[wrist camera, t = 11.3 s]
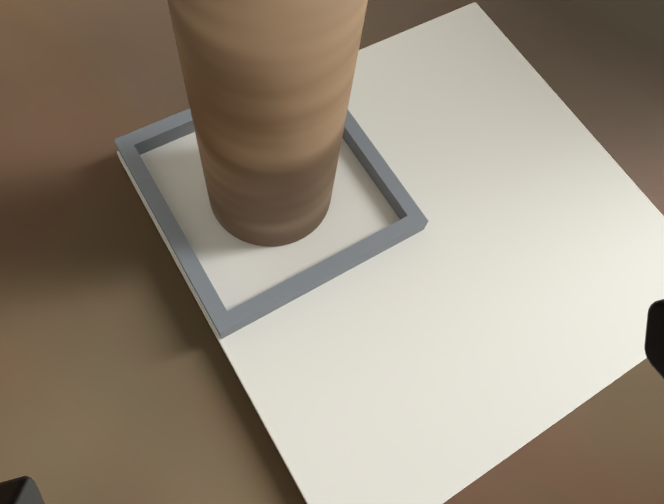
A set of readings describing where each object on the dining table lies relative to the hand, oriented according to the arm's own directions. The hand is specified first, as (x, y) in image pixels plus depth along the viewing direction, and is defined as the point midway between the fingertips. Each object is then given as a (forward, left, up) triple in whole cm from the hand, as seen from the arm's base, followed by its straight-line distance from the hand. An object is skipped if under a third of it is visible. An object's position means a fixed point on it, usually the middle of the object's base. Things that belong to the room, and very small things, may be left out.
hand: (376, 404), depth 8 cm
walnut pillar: (+10, -4, -13) cm, 17 cm away
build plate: (+6, -9, -14) cm, 17 cm away
